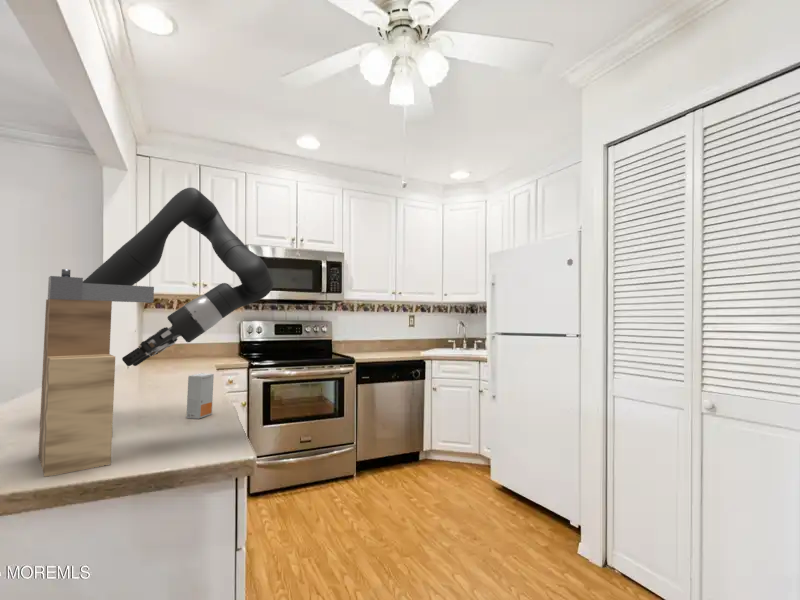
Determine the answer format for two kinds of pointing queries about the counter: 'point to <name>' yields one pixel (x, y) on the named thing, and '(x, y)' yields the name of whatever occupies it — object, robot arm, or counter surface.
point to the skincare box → (200, 395)
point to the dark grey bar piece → (95, 290)
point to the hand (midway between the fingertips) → (128, 362)
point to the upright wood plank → (76, 386)
